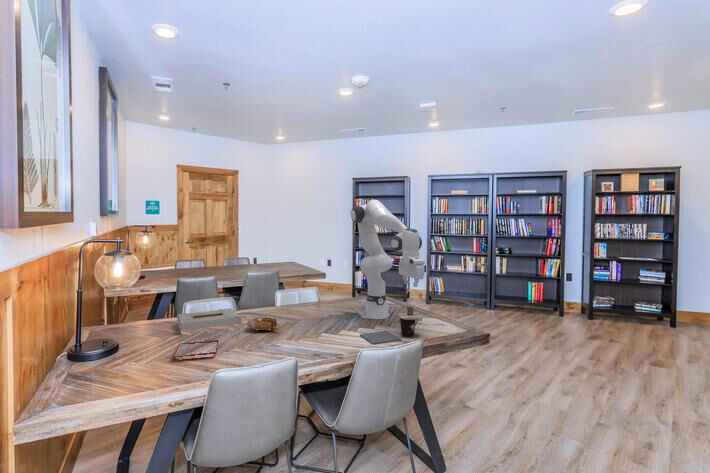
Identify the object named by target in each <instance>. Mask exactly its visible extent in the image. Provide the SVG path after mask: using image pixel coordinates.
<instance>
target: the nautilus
mask: <svg viewBox="0 0 710 473" xmlns="http://www.w3.org/2000/svg"><path fill="white" fill-rule="evenodd" d="M246 325H247V328H249V329H251V330H254V329H258V330H265V331H266V332H273V334H275V333H279V330H280V328H279V327H281V326H280V324H279V322H278V320H277V319H276V318H274V317H273V316H271V315H259V316H256V317H253V318H251V319H249V320H248V321H247V323H246ZM274 327H275V328H274ZM268 329H271V330H268ZM258 330H254V331H256V332H259V331H258Z"/></svg>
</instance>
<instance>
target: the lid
mask: <svg viewBox="0 0 710 473" xmlns="http://www.w3.org/2000/svg"><path fill="white" fill-rule="evenodd" d="M406 308H407V309H406V310H407V311H403V312H399V313H398V314H397V317H398V318H399V319H400V318H401V319H406V320H416V321H417V320H418V321H419V320H421V319H423V318H424V317H423V313H421V312H420V313H419V312H415V311H414V307H413V306H407V307H406Z"/></svg>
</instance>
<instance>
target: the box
mask: <svg viewBox="0 0 710 473" xmlns="http://www.w3.org/2000/svg"><path fill="white" fill-rule="evenodd" d="M177 319H178V322H179V326H180V331H181V330H191V329H200V328H209V327H217V326H225V325H234V324H241V325H242V318H241V316H240V315H239V314H238V313H237V312H236V311H235V310H234V309H233V308H231V307H230V308H224V309H223V308H220V309H219V308H218V309H217V310H207V311H206V310H205V311H199V312H196V311H195V312H189V313H187V312H185V313H177V315H176V320H177ZM180 331H179V332H180Z"/></svg>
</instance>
